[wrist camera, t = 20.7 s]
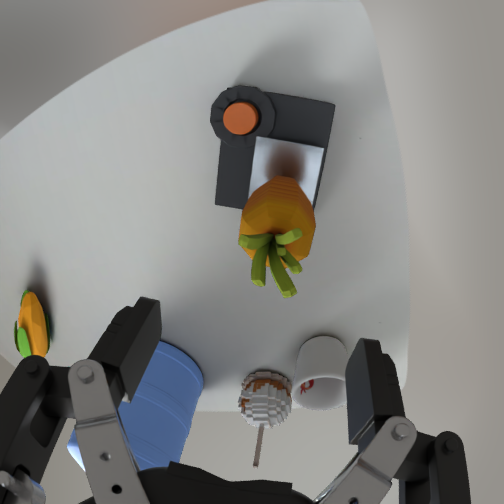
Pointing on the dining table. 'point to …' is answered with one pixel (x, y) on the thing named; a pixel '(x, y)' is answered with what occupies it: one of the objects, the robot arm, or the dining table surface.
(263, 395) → the caramel apple
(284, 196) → the carrot
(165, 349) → the water jug
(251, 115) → the button
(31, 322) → the corn
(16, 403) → the robot arm
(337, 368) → the cup
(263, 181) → the plate
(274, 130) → the scale
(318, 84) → the dining table surface
